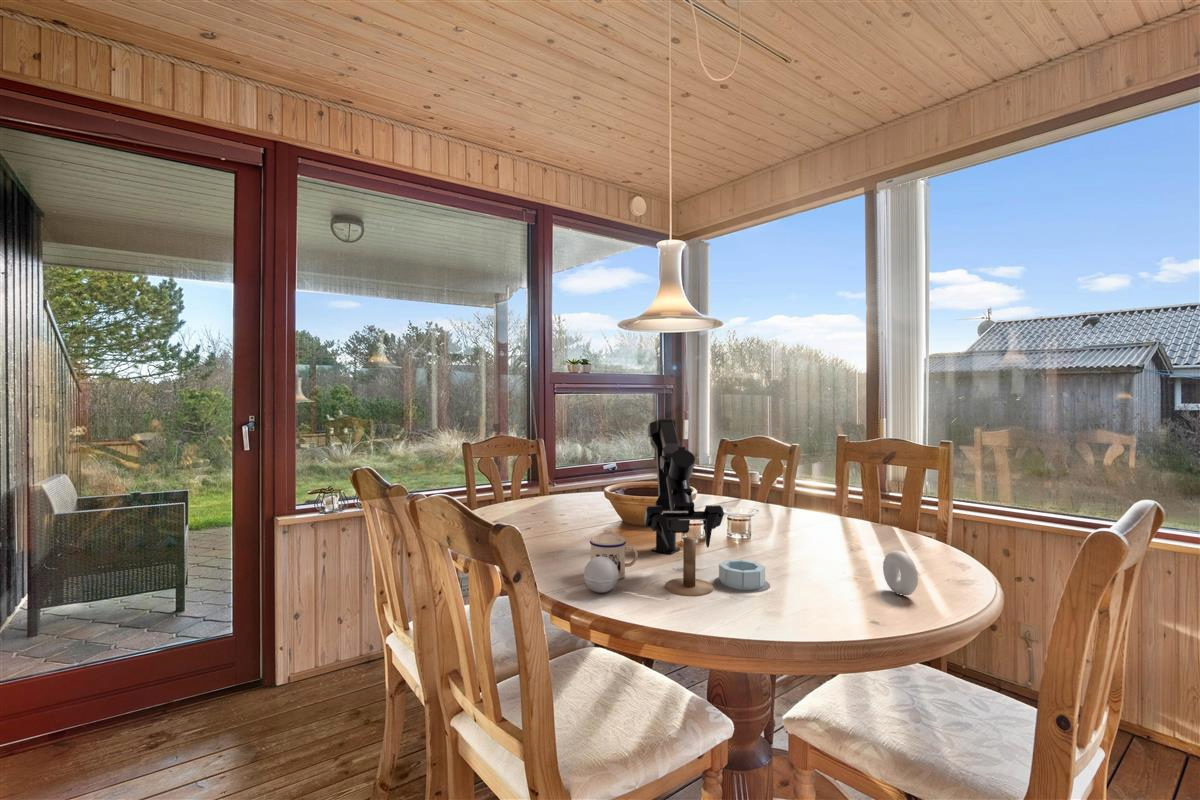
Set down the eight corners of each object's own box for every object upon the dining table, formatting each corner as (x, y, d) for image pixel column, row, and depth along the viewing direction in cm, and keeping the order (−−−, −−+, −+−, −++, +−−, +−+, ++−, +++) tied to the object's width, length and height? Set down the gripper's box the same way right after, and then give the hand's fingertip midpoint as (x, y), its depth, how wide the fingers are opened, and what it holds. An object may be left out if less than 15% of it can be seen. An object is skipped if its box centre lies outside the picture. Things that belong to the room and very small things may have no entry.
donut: (879, 587, 133) (879, 545, 133) (893, 587, 134) (893, 545, 134) (906, 603, 123) (906, 557, 123) (921, 602, 124) (921, 556, 124)
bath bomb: (620, 587, 133) (620, 553, 133) (615, 598, 125) (616, 562, 125) (587, 585, 134) (587, 551, 134) (580, 596, 126) (580, 560, 126)
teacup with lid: (588, 581, 137) (588, 533, 137) (590, 569, 146) (591, 524, 146) (637, 582, 137) (638, 533, 137) (637, 570, 146) (637, 525, 146)
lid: (678, 579, 139) (678, 530, 139) (720, 587, 133) (721, 536, 133) (657, 591, 130) (657, 539, 130) (701, 601, 124) (701, 546, 124)
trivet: (725, 573, 144) (725, 571, 144) (777, 582, 136) (777, 581, 136) (705, 587, 133) (705, 585, 133) (759, 598, 126) (759, 596, 126)
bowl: (729, 574, 142) (729, 557, 142) (769, 581, 136) (769, 564, 136) (713, 585, 133) (713, 567, 133) (755, 593, 128) (755, 574, 128)
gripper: (710, 510, 149) (721, 563, 138) (640, 510, 148) (645, 564, 137) (718, 484, 142) (730, 539, 131) (644, 485, 141) (650, 540, 130)
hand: (688, 546), depth 132 cm, fingers open, 9 cm apart
